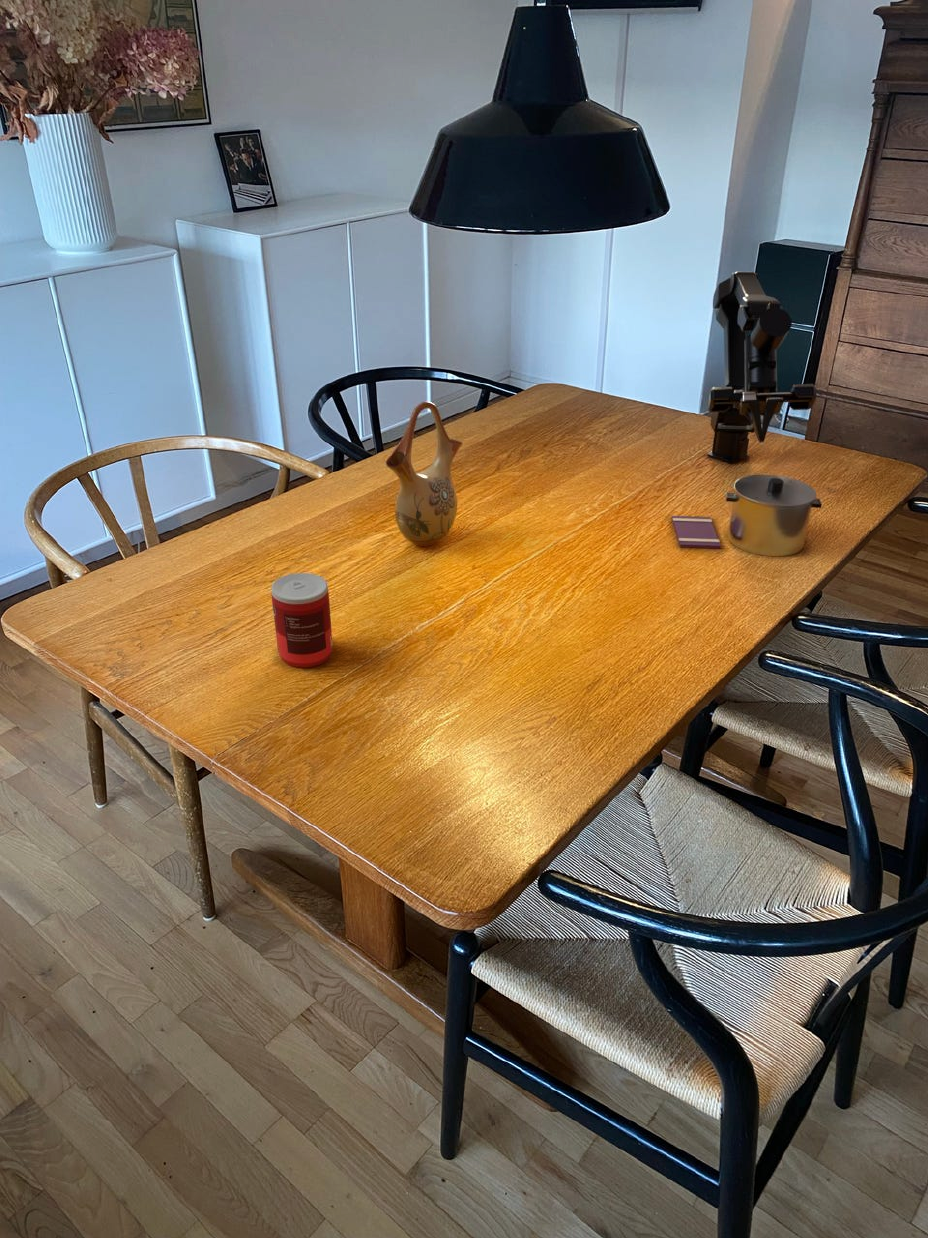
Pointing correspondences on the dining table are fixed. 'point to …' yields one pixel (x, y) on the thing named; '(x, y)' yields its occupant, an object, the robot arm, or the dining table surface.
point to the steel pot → (770, 514)
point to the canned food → (302, 619)
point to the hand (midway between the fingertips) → (761, 441)
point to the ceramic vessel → (425, 486)
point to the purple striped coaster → (695, 532)
